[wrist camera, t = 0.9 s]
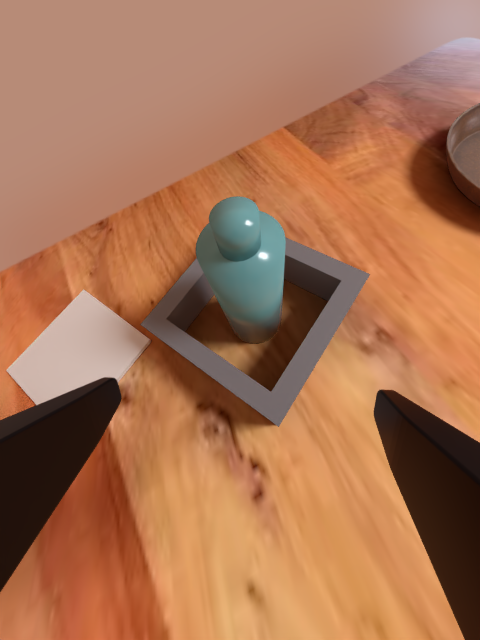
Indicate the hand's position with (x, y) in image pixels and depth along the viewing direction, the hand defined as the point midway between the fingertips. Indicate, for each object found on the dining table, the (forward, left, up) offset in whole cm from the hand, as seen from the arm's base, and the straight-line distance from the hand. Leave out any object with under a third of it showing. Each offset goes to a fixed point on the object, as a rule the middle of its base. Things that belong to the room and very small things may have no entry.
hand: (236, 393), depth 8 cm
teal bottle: (+7, +5, -13) cm, 15 cm away
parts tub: (+7, +5, -13) cm, 15 cm away
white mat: (-6, +18, -13) cm, 23 cm away
